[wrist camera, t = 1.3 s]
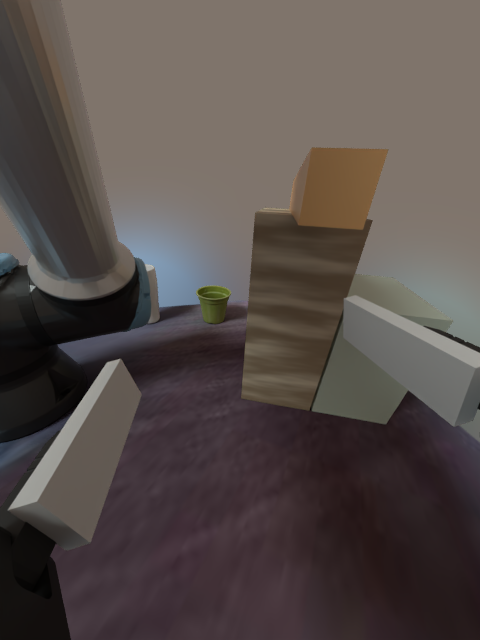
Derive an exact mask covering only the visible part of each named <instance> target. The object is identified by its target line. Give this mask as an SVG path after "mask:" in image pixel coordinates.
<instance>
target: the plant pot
mask: <svg viewBox="0 0 480 640" xmlns="http://www.w3.org/2000/svg"><path fill="white" fill-rule="evenodd" d="M196 294H197V296H198V297H199V300H200V304H201V309H202V314H203V319H204V321H205V322H207V323H213V324H218V323H221V322H223V320H224V318H225V312H226V307H227V301H228V299H229V296H230V295H231V291H230V290H229V289H227V288H225V287H221V286H205V287H201V288H199V289H198V290H197V291H196Z"/></svg>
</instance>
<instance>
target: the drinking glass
mask: <svg viewBox="0 0 480 640" xmlns="http://www.w3.org/2000/svg"><path fill="white" fill-rule="evenodd" d="M145 267H146V270H147V274H148V278H149V284H150V297H151V316H150V320H149V322H148V323H147V324H151V323H155V322H157V321H158V320H159V319H160V314H159V303H158V287H157V278H156V273H155V268H154V266H152V265H146V264H145Z"/></svg>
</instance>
